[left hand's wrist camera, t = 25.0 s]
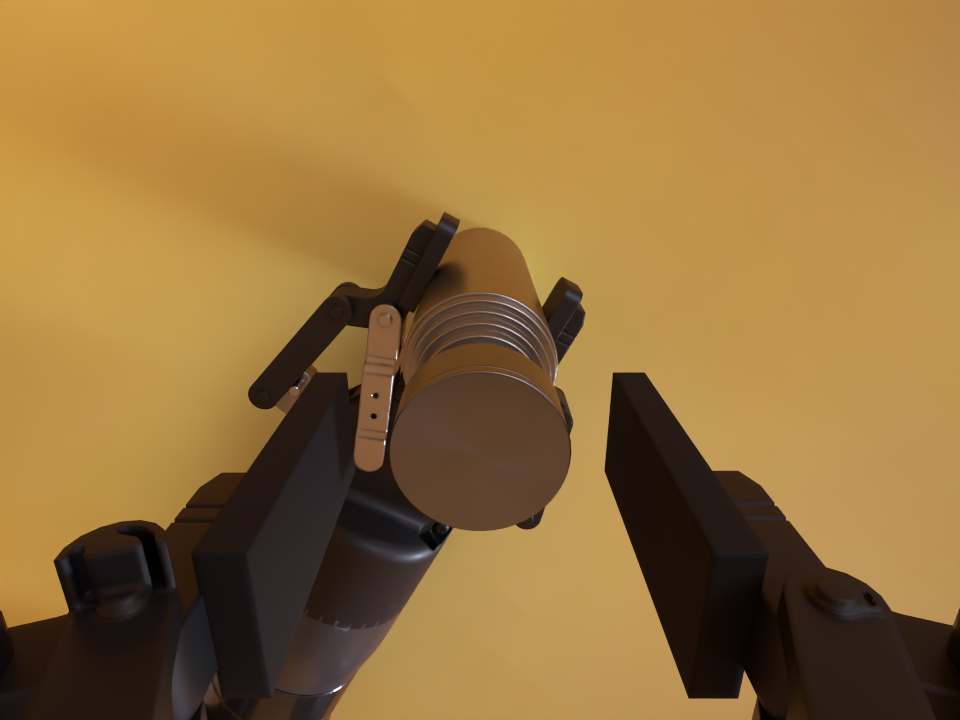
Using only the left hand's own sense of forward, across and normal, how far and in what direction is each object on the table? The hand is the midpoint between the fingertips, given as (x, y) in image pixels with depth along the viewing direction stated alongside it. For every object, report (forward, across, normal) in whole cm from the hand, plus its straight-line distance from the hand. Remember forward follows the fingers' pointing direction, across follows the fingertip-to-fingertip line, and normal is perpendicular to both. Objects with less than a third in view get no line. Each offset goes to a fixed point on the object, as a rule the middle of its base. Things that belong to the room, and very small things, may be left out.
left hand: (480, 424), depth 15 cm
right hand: (+10, -1, -2) cm, 10 cm away
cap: (-1, 0, 0) cm, 1 cm away
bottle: (+16, 0, 0) cm, 16 cm away
